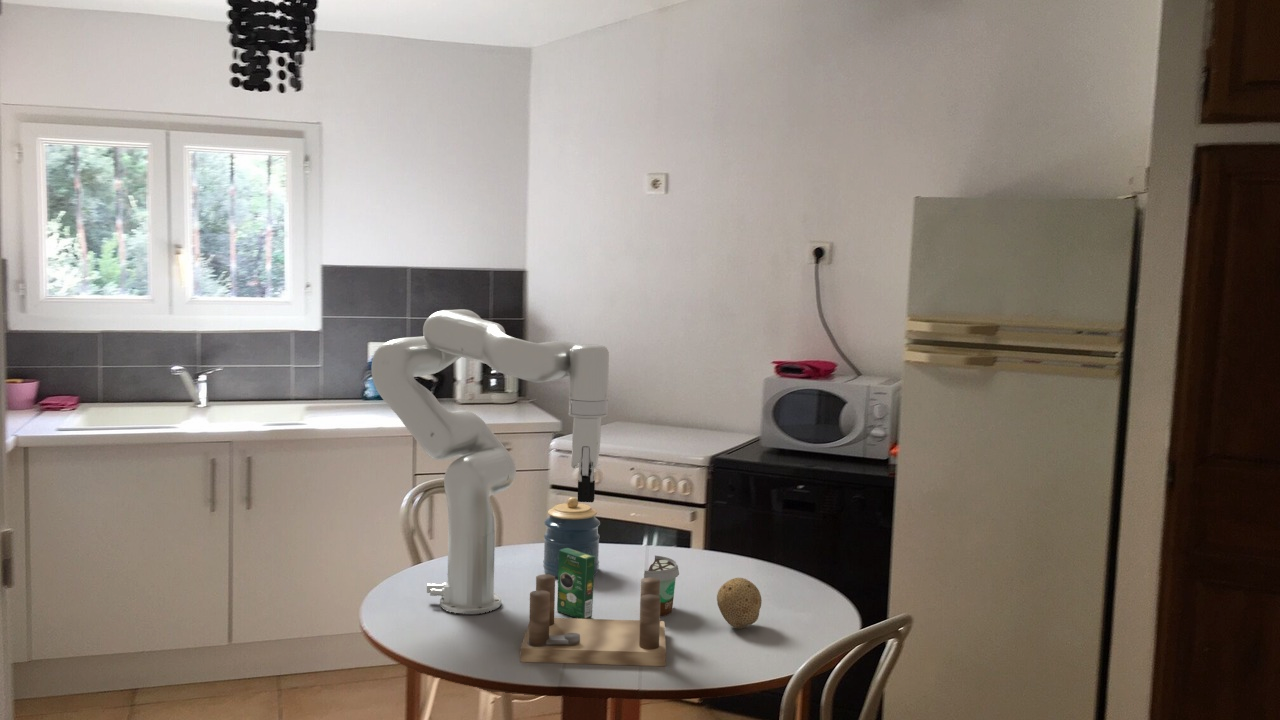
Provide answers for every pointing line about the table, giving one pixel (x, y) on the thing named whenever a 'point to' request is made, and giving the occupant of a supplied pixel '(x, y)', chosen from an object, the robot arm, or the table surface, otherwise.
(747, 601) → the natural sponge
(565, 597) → the coffee box
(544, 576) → the wooden peg board
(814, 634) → the table surface
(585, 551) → the canister
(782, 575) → the table surface
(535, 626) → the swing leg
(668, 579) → the food container
